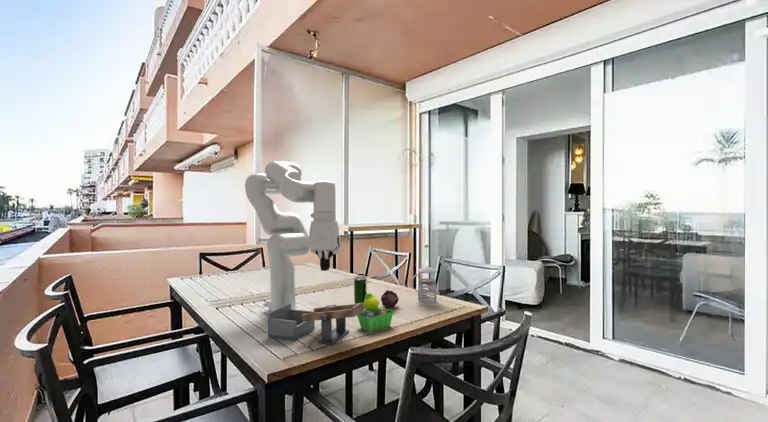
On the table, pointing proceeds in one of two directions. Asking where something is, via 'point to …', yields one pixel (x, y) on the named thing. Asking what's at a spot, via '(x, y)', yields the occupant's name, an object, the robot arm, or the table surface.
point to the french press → (423, 298)
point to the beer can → (360, 289)
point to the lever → (334, 311)
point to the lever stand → (326, 330)
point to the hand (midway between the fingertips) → (325, 269)
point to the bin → (288, 323)
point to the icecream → (389, 299)
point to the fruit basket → (374, 314)
